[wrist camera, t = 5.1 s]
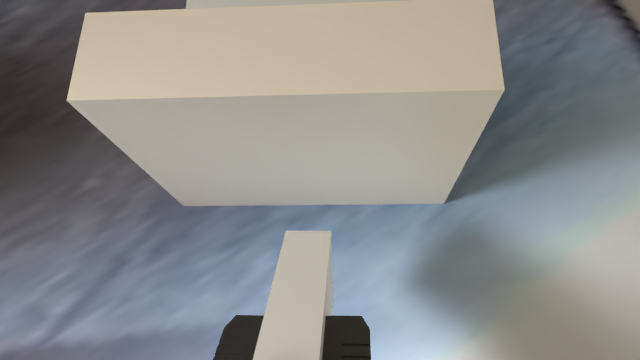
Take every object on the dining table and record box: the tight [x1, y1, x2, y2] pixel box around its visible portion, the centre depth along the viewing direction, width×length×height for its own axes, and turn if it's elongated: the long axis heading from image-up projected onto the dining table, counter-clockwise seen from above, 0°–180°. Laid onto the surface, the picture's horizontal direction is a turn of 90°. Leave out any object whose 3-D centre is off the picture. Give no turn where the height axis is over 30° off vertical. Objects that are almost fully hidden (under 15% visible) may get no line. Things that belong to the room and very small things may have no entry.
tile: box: [67, 0, 505, 206], centre depth 19 cm, size 12×3×10 cm, turn 89°
